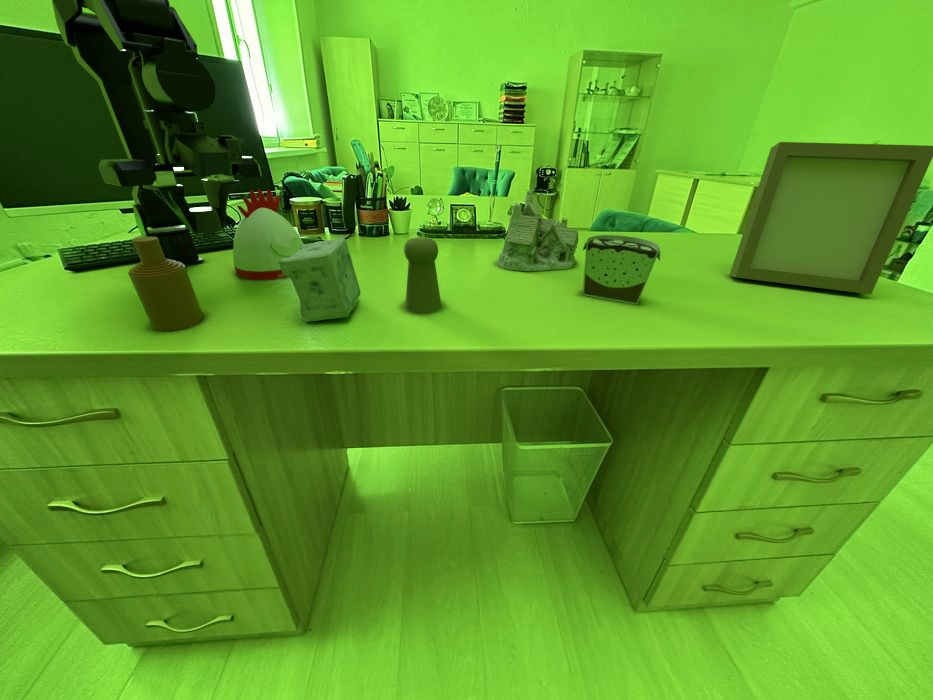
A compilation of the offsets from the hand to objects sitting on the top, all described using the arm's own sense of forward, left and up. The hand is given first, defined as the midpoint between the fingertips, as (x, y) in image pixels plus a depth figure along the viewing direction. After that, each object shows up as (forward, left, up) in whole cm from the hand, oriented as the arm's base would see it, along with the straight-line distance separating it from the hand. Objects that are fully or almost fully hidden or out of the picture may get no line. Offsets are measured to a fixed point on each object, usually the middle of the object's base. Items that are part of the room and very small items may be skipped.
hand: (208, 230), depth 58 cm
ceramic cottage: (-49, +36, -11) cm, 62 cm away
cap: (0, 0, 0) cm, 0 cm away
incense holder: (-5, +19, -11) cm, 23 cm away
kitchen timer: (-13, -7, -11) cm, 19 cm away
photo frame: (-70, +84, -11) cm, 110 cm away
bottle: (+10, +4, -11) cm, 15 cm away
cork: (-15, +30, -11) cm, 35 cm away
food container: (-39, +55, -11) cm, 68 cm away
